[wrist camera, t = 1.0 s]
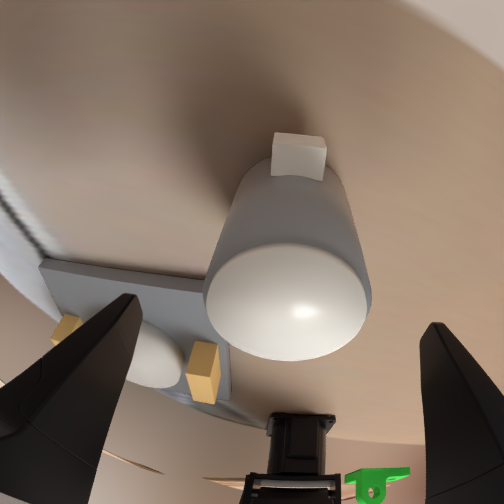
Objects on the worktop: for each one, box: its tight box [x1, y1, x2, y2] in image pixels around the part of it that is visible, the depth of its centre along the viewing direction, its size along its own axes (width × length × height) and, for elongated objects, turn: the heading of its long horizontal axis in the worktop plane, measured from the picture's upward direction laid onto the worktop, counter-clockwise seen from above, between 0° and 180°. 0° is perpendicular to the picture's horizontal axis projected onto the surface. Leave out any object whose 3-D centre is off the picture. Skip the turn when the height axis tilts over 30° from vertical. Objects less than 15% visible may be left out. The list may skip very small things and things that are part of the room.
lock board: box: [38, 258, 231, 404], centre depth 20 cm, size 13×13×4 cm
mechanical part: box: [345, 467, 410, 504], centre depth 41 cm, size 12×6×8 cm, turn 73°
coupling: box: [203, 132, 372, 361], centre depth 11 cm, size 7×5×6 cm
